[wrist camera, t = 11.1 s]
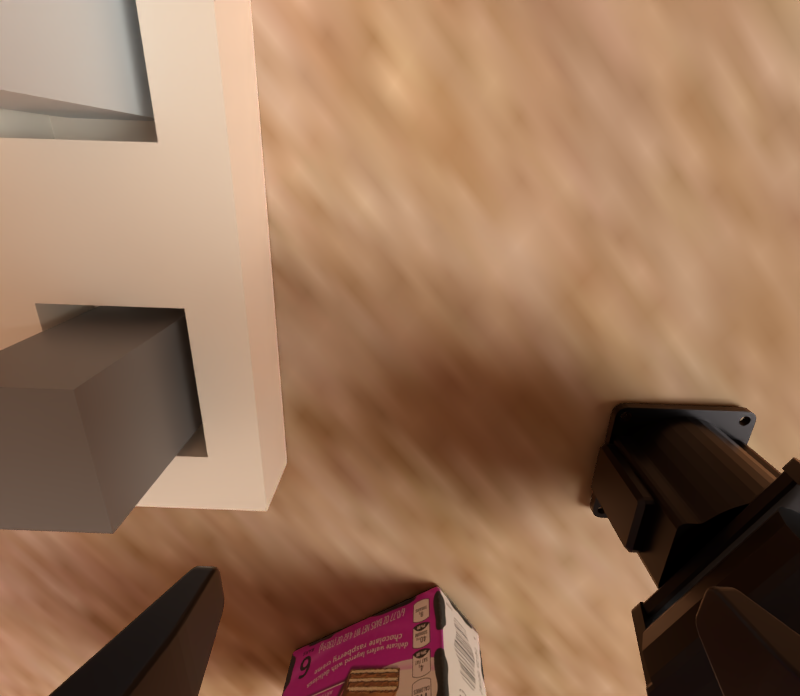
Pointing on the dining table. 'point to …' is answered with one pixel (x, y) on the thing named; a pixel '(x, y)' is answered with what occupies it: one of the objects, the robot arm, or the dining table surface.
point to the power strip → (163, 238)
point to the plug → (73, 59)
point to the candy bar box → (394, 655)
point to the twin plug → (93, 417)
